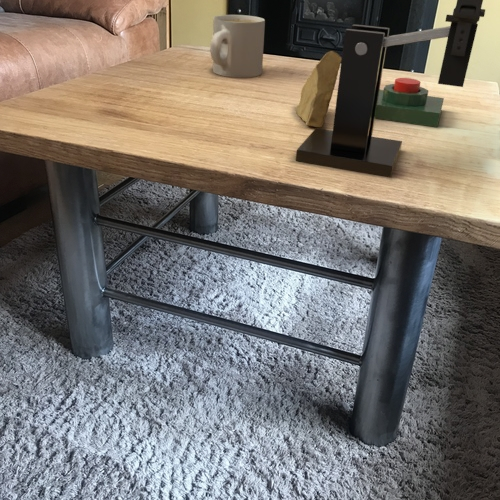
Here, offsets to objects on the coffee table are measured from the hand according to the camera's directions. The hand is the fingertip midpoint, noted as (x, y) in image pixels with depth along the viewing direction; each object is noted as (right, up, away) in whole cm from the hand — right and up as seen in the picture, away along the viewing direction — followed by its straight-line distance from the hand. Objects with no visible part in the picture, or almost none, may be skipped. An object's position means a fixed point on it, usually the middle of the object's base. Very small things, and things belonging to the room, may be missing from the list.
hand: (451, 79), depth 65 cm
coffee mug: (-27, +15, +47) cm, 56 cm away
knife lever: (-5, +4, 0) cm, 6 cm away
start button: (+2, +6, +25) cm, 26 cm away
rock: (-14, +1, +23) cm, 27 cm away
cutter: (-10, -8, +9) cm, 15 cm away
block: (+2, +3, +27) cm, 27 cm away
